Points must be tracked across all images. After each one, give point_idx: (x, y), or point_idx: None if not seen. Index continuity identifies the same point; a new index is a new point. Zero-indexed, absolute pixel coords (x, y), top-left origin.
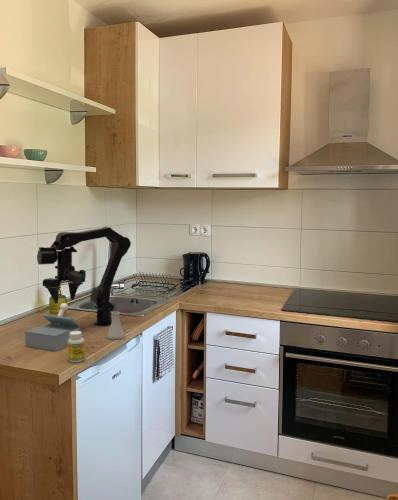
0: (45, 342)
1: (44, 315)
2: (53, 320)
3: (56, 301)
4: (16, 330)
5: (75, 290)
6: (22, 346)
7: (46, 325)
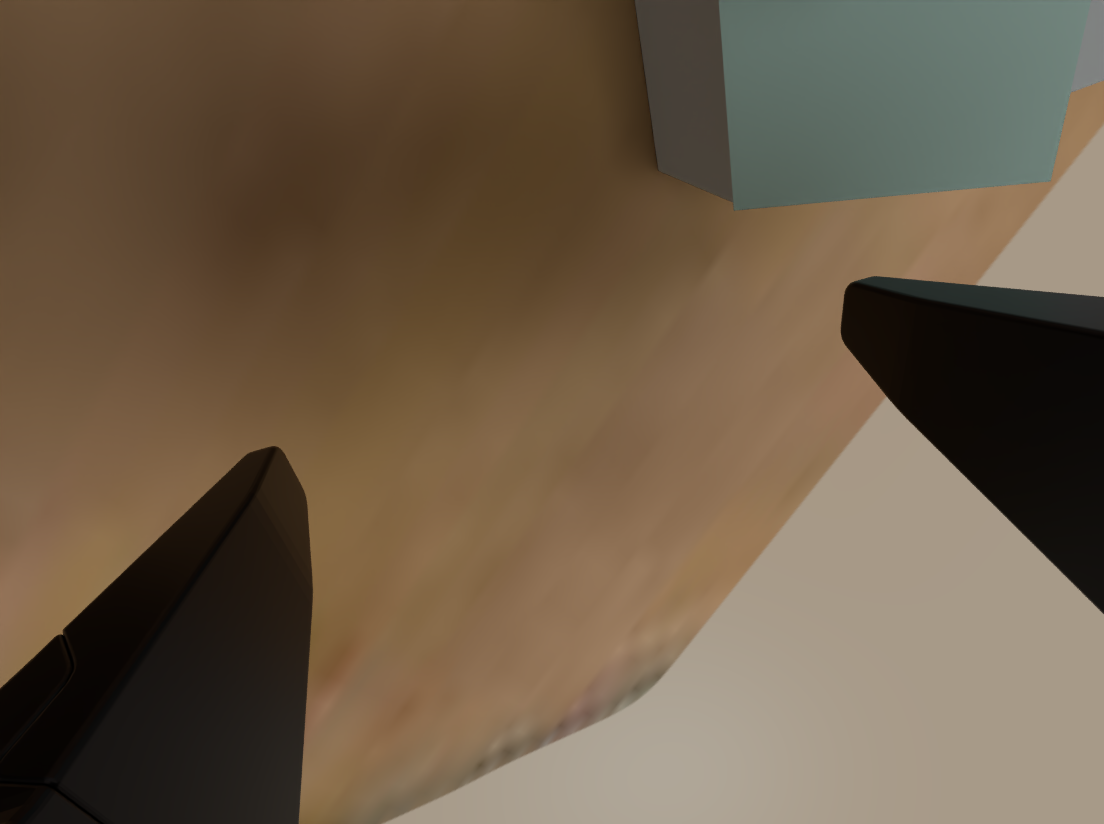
0: None
1: (1057, 118)
2: (870, 49)
3: (924, 289)
4: (715, 520)
5: (106, 664)
6: None
7: None
